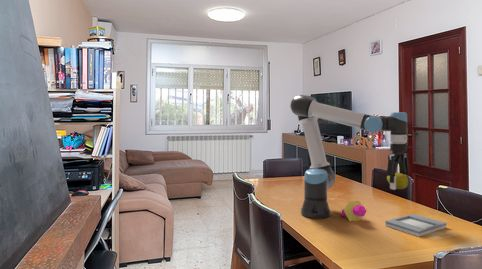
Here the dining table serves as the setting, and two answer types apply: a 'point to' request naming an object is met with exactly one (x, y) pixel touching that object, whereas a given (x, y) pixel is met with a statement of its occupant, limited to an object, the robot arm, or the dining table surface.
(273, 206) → the dining table surface
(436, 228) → the baseplate
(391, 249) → the dining table surface
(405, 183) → the lemon
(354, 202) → the toy
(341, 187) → the dining table surface
